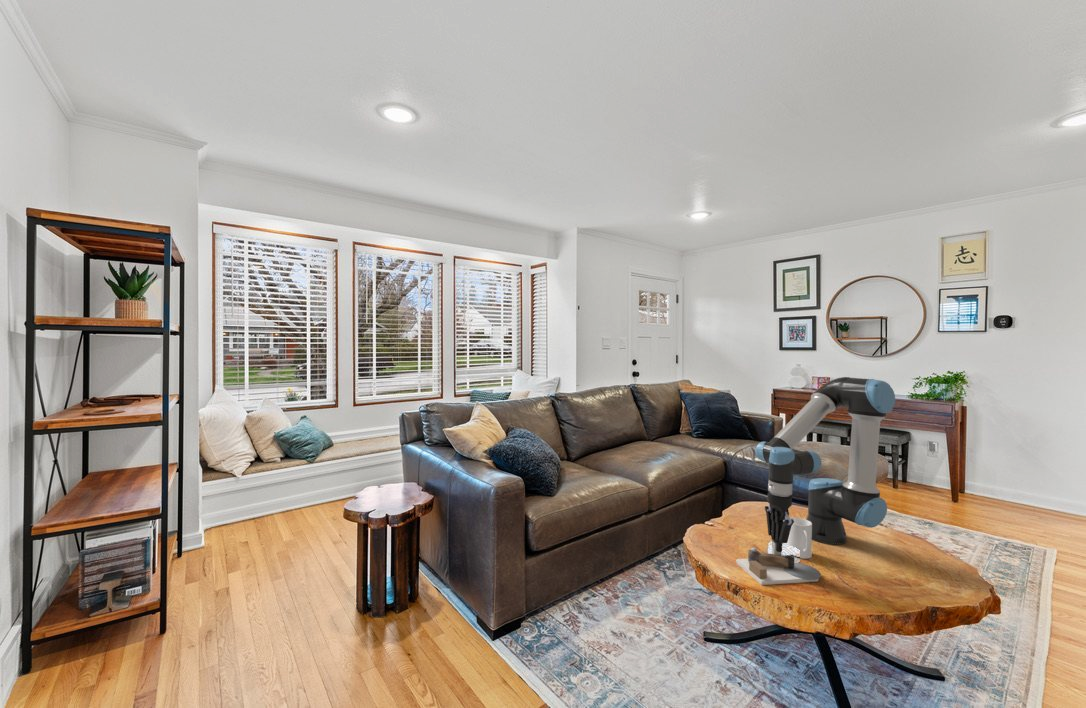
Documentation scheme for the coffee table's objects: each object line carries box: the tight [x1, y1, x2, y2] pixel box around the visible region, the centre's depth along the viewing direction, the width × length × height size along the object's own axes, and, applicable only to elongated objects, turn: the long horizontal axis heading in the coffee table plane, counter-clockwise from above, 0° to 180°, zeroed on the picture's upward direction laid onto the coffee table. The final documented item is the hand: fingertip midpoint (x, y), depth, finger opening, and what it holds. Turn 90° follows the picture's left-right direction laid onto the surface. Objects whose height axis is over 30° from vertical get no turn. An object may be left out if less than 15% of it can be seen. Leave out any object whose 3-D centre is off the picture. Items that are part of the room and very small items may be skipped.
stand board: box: [735, 547, 822, 586], centre depth 157 cm, size 23×16×6 cm
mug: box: [786, 517, 813, 560], centre depth 170 cm, size 12×8×12 cm
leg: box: [747, 549, 796, 568], centre depth 159 cm, size 14×4×3 cm, turn 74°
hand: (776, 559), depth 161 cm, fingers closed
